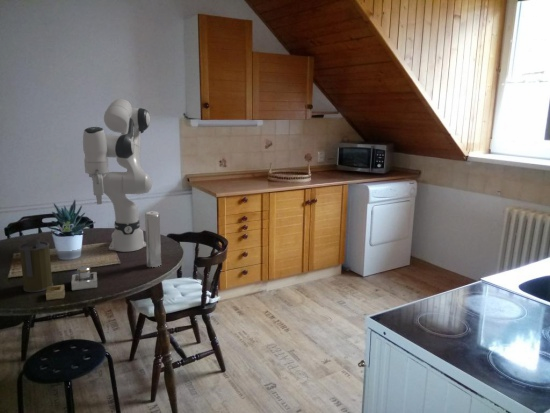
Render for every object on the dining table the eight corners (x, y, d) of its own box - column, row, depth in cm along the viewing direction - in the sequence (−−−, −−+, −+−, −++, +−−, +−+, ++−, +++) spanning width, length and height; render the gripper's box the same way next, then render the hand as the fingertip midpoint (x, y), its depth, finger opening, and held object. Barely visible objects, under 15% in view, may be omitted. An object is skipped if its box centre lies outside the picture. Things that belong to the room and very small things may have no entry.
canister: (31, 281, 173) (26, 234, 169) (57, 281, 174) (53, 235, 170) (17, 293, 163) (11, 243, 158) (45, 292, 164) (41, 243, 159)
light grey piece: (157, 268, 191) (155, 214, 186) (144, 266, 193) (141, 213, 187) (163, 263, 198) (162, 211, 192) (150, 261, 199) (149, 210, 193)
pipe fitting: (78, 282, 174) (77, 266, 172) (91, 281, 175) (90, 265, 174) (78, 287, 169) (77, 271, 168) (91, 285, 171) (90, 269, 170)
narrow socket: (47, 293, 163) (47, 286, 162) (65, 291, 165) (64, 284, 164) (46, 300, 157) (45, 292, 157) (64, 298, 160) (63, 290, 159)
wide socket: (72, 281, 175) (72, 274, 174) (97, 278, 178) (96, 271, 177) (72, 290, 166) (71, 283, 166) (97, 287, 170) (96, 280, 169)
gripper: (105, 172, 164) (108, 206, 167) (104, 163, 182) (106, 195, 185) (88, 173, 161) (91, 208, 165) (88, 164, 180) (90, 196, 183)
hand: (99, 201), depth 175 cm, fingers open, 8 cm apart
